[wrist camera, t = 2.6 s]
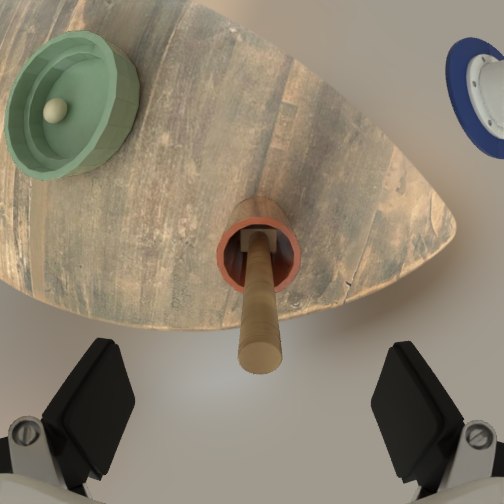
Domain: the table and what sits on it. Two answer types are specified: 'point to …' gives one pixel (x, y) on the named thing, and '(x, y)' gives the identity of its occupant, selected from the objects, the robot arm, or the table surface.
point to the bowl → (71, 106)
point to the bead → (55, 110)
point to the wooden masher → (259, 303)
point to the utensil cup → (236, 261)
